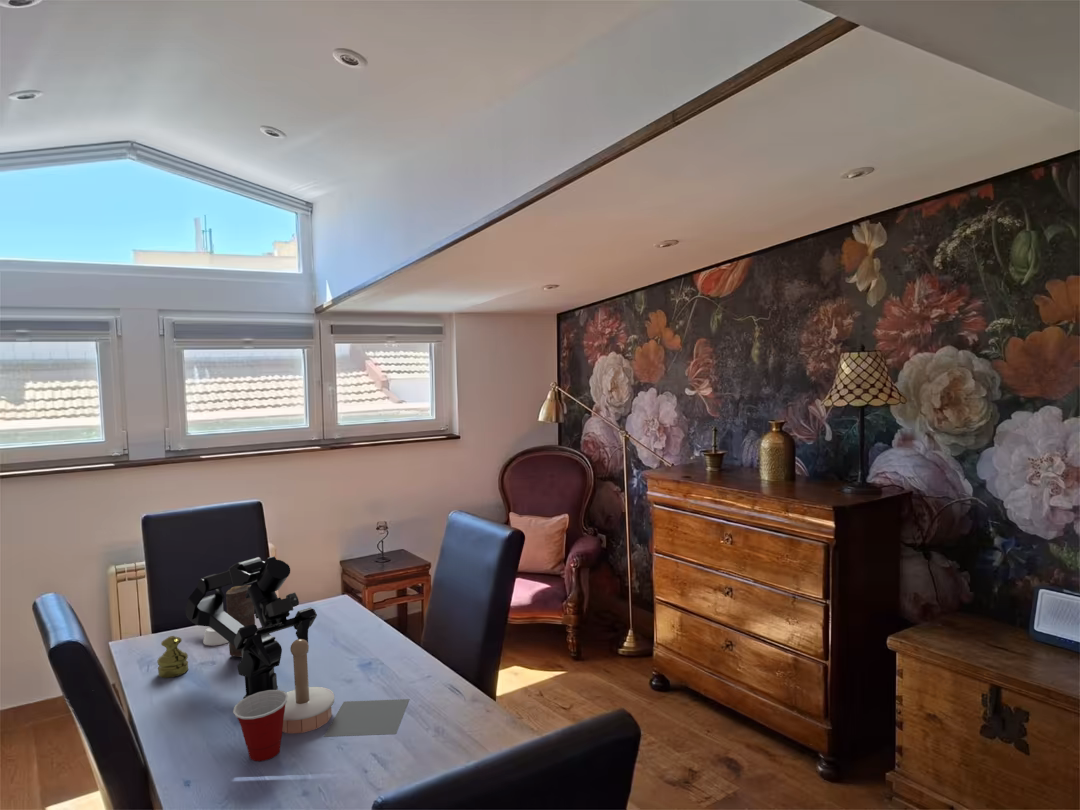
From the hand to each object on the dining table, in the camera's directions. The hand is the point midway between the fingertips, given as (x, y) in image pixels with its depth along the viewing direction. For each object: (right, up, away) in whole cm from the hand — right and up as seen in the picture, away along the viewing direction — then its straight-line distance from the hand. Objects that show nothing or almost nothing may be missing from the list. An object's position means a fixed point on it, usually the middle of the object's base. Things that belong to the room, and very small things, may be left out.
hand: (288, 658), depth 164 cm
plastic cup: (+1, -15, -17) cm, 23 cm away
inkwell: (-42, -12, +52) cm, 68 cm away
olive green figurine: (-41, -14, +27) cm, 51 cm away
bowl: (+5, -13, -3) cm, 15 cm away
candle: (-26, -13, +37) cm, 47 cm away
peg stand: (+5, -9, -4) cm, 11 cm away
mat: (+20, -13, -3) cm, 24 cm away
